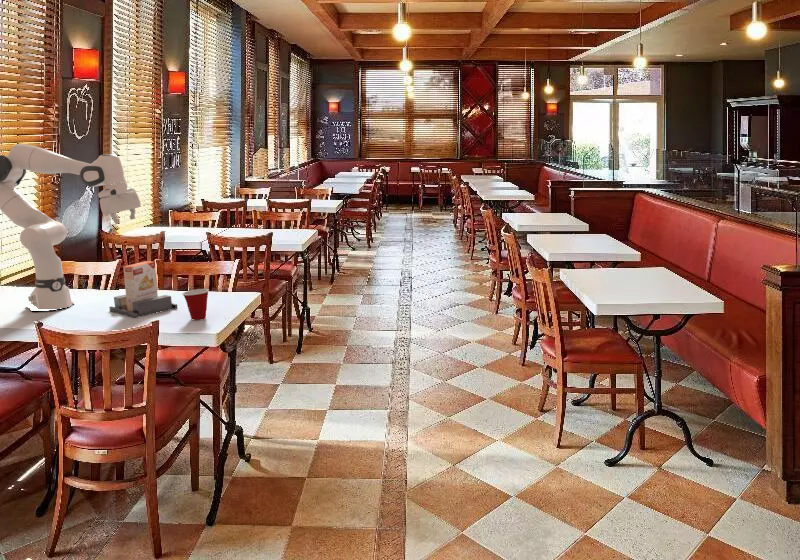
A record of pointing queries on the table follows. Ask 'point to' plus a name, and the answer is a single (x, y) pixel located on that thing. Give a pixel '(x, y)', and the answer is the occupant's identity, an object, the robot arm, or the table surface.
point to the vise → (147, 306)
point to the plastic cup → (197, 303)
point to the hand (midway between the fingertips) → (125, 221)
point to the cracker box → (140, 282)
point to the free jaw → (120, 302)
